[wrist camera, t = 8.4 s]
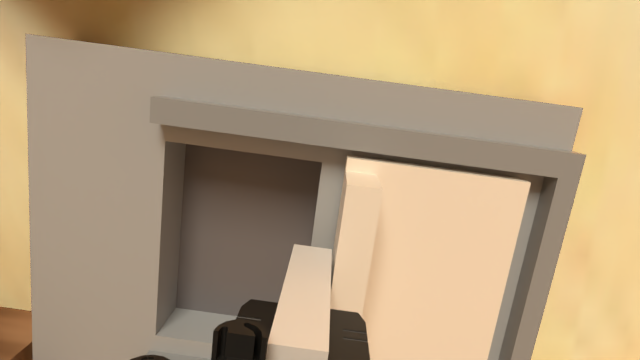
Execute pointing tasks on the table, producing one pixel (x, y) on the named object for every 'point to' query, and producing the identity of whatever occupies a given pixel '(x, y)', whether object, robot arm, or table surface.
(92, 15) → the table surface
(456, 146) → the socket plate
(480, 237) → the shutter
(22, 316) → the plug
